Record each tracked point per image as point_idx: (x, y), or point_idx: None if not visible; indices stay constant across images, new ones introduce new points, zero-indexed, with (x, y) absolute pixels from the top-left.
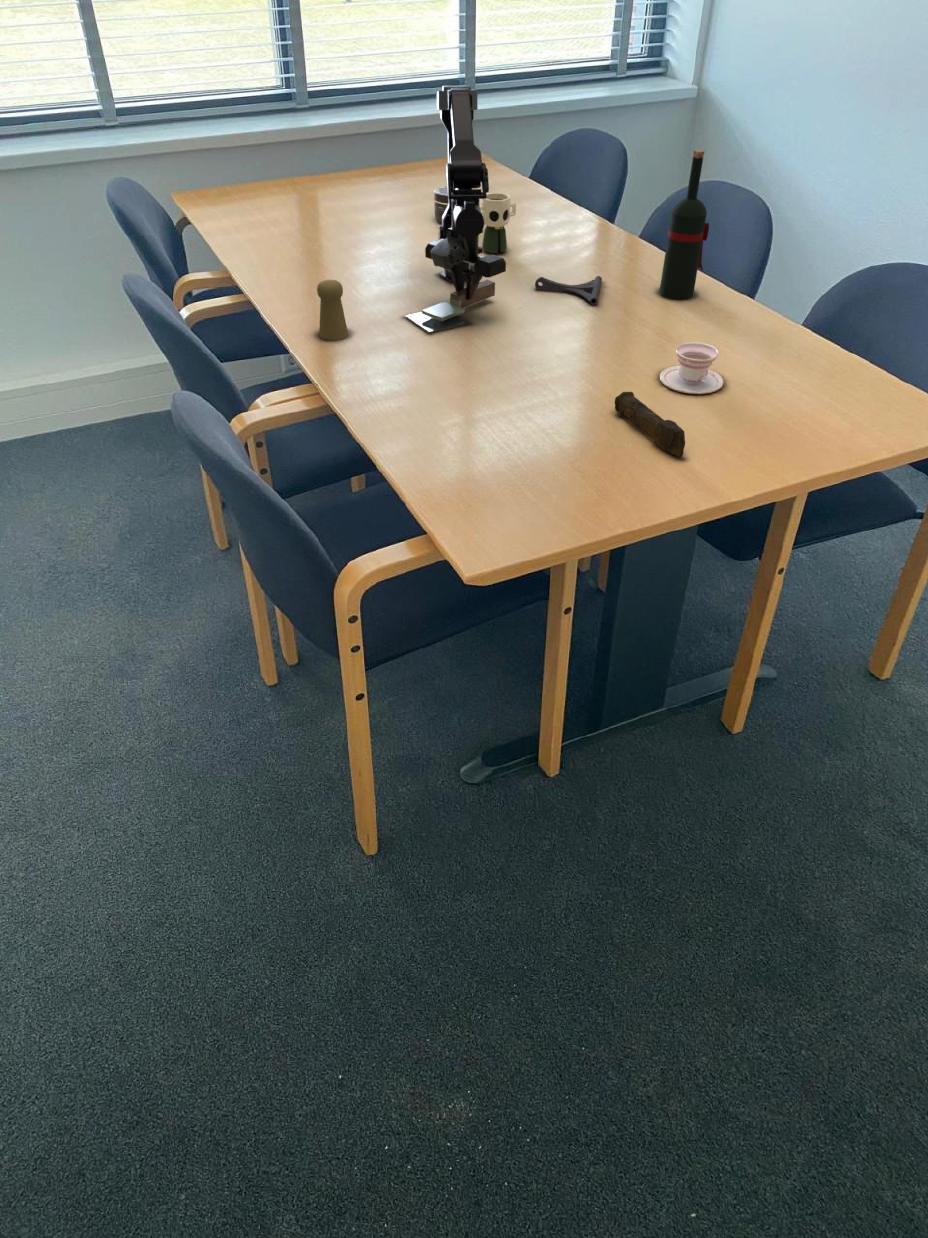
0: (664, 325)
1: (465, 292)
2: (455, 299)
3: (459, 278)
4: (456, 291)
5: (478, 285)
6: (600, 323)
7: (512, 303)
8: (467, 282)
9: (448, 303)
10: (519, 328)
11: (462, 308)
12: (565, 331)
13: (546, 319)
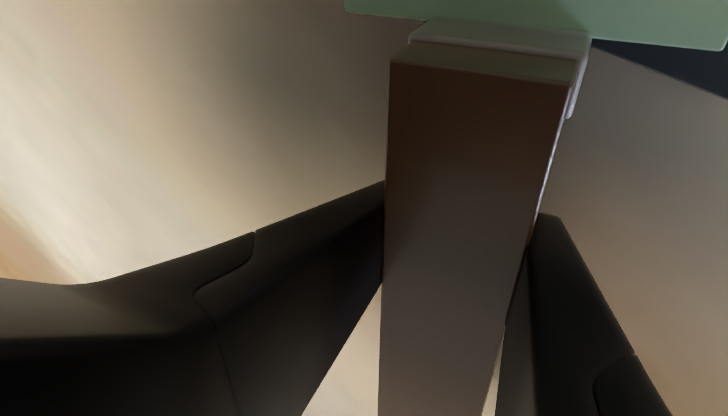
0: None
1: (409, 227)
2: (461, 46)
3: (508, 410)
4: (526, 204)
5: (427, 408)
6: (54, 282)
7: (342, 355)
8: (238, 267)
9: (609, 24)
10: (91, 96)
11: (361, 4)
12: (21, 176)
13: (134, 248)
